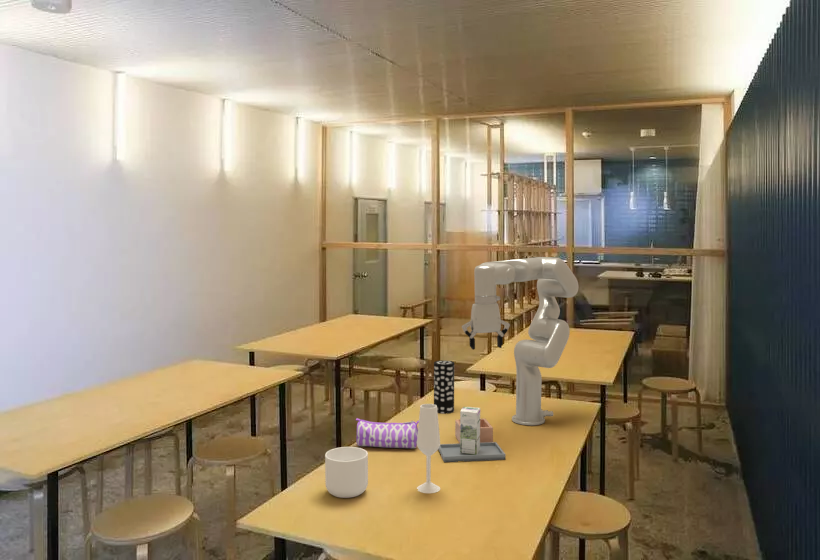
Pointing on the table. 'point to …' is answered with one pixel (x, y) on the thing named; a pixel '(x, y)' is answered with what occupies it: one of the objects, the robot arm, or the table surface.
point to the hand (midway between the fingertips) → (486, 348)
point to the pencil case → (387, 434)
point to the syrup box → (470, 430)
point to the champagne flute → (428, 442)
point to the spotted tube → (444, 386)
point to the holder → (485, 431)
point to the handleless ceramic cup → (346, 471)
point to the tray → (486, 453)
